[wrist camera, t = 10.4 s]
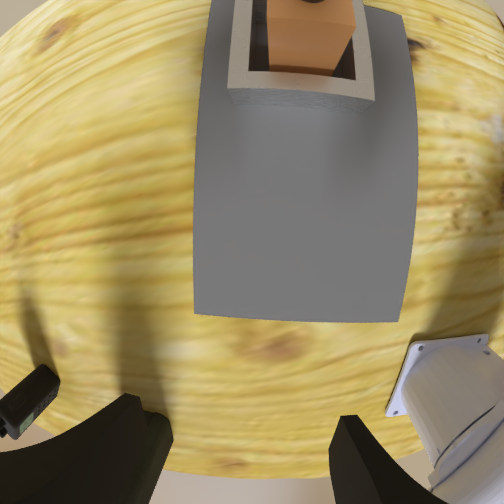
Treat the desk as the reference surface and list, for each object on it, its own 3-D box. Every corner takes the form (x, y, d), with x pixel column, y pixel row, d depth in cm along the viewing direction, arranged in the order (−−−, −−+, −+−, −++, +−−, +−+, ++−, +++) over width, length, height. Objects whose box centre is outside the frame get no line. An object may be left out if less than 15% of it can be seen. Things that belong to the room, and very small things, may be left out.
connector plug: (324, 40, 13) (353, -45, 5) (327, 84, 14) (367, 6, 6) (270, 36, 14) (266, -54, 5) (269, 80, 14) (265, -6, 6)
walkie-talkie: (56, 398, 23) (-10, 472, 8) (37, 379, 23) (-33, 447, 8) (62, 379, 22) (-17, 461, 7) (40, 358, 22) (-43, 431, 7)
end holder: (351, 22, 13) (362, -1, 10) (358, 114, 14) (375, 100, 12) (241, 13, 13) (236, -12, 10) (235, 105, 15) (227, 88, 12)
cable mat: (397, 20, 13) (401, 15, 12) (393, 317, 18) (397, 322, 17) (214, 1, 14) (212, -5, 13) (197, 308, 19) (194, 313, 18)
